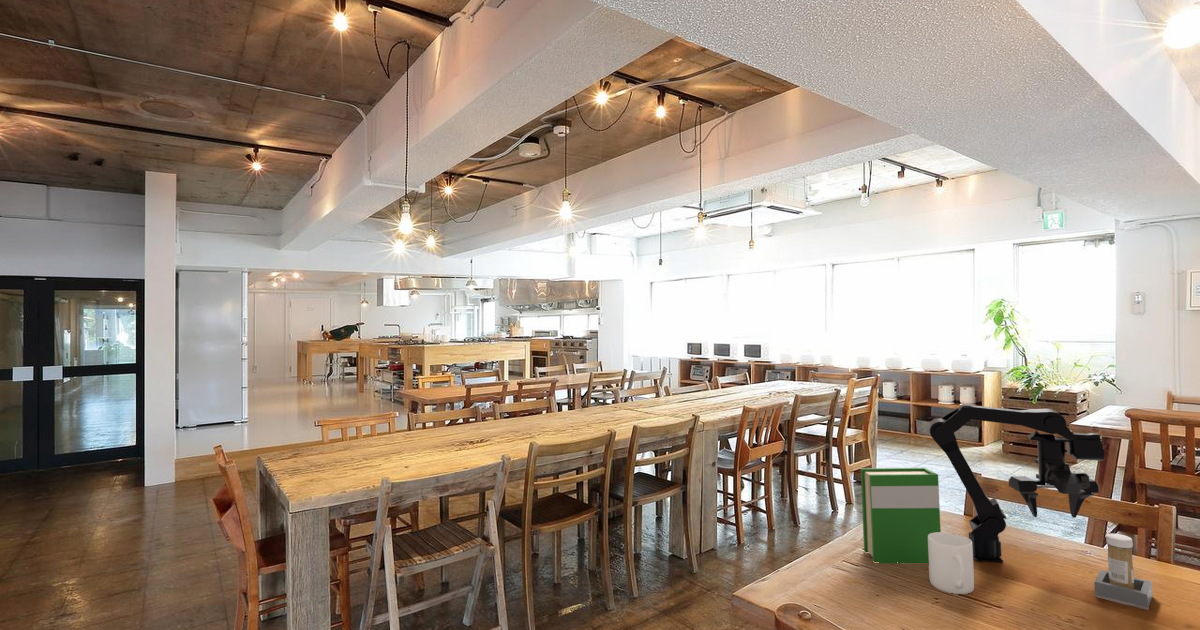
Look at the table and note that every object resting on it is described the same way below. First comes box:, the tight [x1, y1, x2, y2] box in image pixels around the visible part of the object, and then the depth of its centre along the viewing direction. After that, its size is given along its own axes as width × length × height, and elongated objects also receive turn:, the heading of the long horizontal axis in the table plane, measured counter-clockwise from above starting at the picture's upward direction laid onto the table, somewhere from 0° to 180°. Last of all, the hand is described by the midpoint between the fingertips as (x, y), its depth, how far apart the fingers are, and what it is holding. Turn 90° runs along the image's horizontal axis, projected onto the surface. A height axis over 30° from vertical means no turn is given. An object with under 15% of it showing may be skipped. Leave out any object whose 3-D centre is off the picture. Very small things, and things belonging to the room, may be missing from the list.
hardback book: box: [860, 467, 942, 564], centre depth 159 cm, size 18×7×24 cm, turn 85°
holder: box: [1093, 569, 1154, 611], centre depth 133 cm, size 9×9×4 cm
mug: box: [928, 531, 975, 595], centre depth 140 cm, size 10×12×12 cm
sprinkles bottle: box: [1105, 533, 1135, 589], centre depth 133 cm, size 5×5×13 cm
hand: (1054, 517), depth 150 cm, fingers open, 9 cm apart
